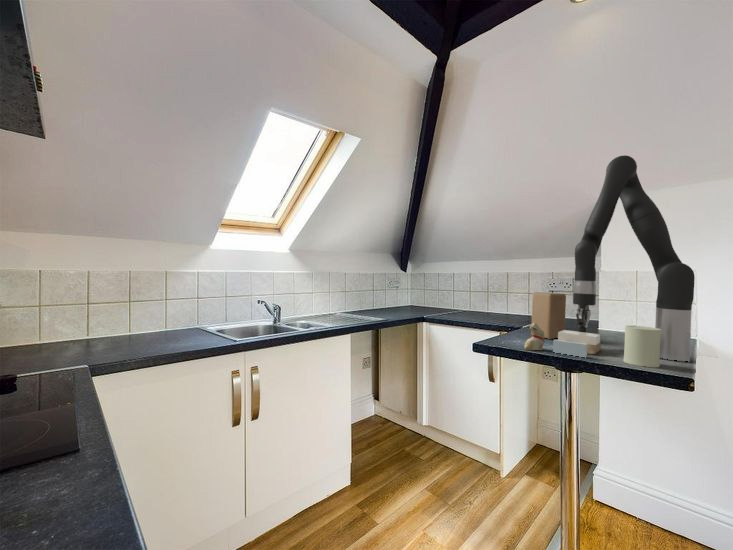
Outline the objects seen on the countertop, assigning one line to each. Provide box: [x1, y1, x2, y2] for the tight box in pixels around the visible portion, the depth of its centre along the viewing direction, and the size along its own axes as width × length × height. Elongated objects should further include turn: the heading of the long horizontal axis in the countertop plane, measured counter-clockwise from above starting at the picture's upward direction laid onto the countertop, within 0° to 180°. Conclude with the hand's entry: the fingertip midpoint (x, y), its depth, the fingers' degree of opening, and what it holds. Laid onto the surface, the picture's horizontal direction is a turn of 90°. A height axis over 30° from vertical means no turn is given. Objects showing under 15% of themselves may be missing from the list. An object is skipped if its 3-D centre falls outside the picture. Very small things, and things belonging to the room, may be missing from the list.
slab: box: [557, 329, 601, 345], centre depth 130 cm, size 12×9×3 cm
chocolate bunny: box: [523, 323, 545, 351], centre depth 127 cm, size 6×8×10 cm
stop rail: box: [552, 339, 588, 359], centre depth 119 cm, size 10×2×4 cm, turn 48°
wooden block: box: [530, 291, 567, 340], centre depth 156 cm, size 10×10×20 cm
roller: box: [587, 345, 596, 356], centre depth 126 cm, size 12×3×3 cm, turn 48°
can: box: [622, 325, 661, 368], centre depth 111 cm, size 9×9×12 cm
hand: (582, 336), depth 135 cm, fingers closed
